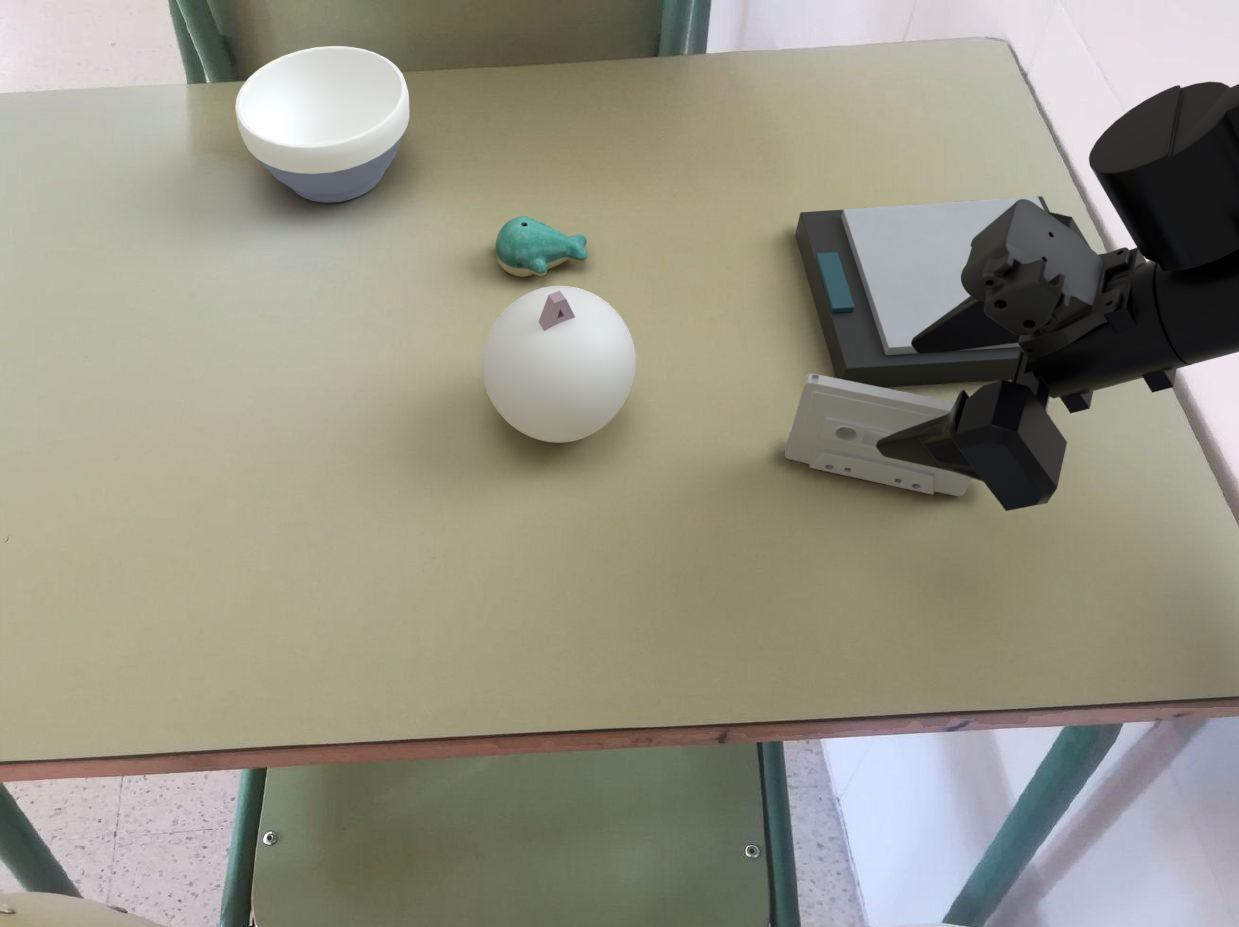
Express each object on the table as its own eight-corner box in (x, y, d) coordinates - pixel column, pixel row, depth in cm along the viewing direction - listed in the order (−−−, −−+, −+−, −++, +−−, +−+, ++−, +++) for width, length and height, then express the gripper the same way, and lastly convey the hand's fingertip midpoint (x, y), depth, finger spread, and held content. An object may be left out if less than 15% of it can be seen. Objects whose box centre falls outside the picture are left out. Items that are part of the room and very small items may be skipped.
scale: (1032, 218, 84) (1046, 187, 82) (1106, 373, 75) (1125, 343, 73) (794, 234, 85) (802, 203, 83) (839, 389, 76) (848, 360, 73)
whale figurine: (498, 238, 87) (496, 199, 84) (587, 237, 86) (588, 198, 83) (494, 286, 84) (492, 248, 81) (586, 286, 83) (587, 247, 80)
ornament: (566, 494, 72) (568, 372, 62) (459, 421, 76) (444, 296, 66) (658, 408, 76) (673, 280, 66) (551, 343, 80) (550, 213, 70)
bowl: (427, 213, 89) (417, 134, 83) (258, 238, 89) (235, 160, 82) (408, 113, 97) (397, 34, 91) (252, 136, 97) (231, 58, 90)
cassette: (965, 482, 71) (1005, 405, 64) (962, 503, 70) (1003, 428, 63) (786, 443, 73) (807, 366, 67) (781, 463, 73) (802, 387, 66)
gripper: (1133, 81, 54) (866, 207, 67) (1077, 319, 46) (781, 414, 58) (1218, 240, 59) (953, 331, 71) (1183, 485, 50) (887, 540, 62)
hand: (897, 396), depth 65 cm, fingers open, 9 cm apart
